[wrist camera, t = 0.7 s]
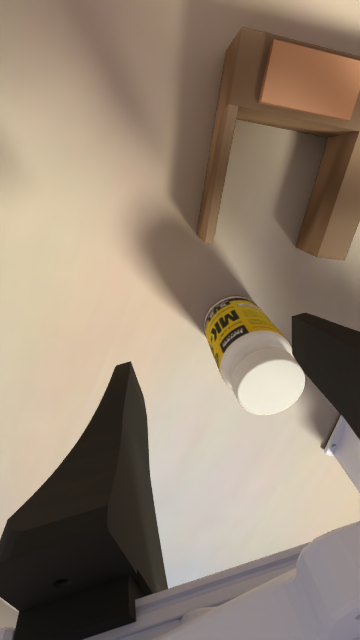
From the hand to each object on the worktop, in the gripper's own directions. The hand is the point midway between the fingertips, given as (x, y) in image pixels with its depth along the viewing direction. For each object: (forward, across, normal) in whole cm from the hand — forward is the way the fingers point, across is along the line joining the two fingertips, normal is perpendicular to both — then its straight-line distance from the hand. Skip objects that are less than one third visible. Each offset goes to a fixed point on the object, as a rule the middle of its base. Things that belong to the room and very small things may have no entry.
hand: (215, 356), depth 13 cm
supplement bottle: (+10, -4, +5) cm, 12 cm away
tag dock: (+10, -12, -4) cm, 16 cm away
